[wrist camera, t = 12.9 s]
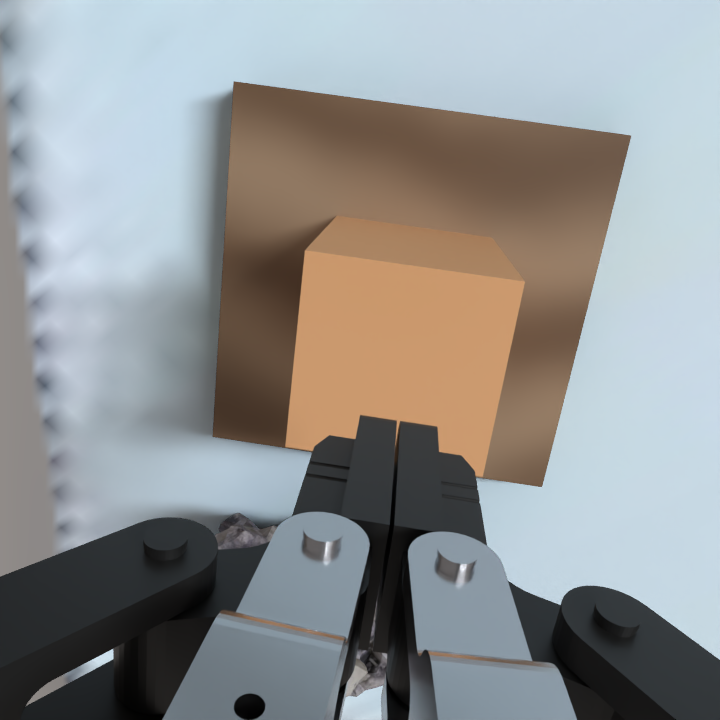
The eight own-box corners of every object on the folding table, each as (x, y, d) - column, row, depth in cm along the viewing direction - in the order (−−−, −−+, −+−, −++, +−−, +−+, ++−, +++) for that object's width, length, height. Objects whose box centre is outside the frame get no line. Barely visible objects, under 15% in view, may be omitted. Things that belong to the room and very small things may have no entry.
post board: (244, 84, 25) (175, 64, 17) (618, 135, 24) (703, 136, 17) (222, 421, 29) (161, 514, 22) (535, 469, 29) (575, 579, 22)
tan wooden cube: (336, 215, 24) (305, 250, 17) (492, 237, 24) (525, 281, 17) (320, 361, 26) (285, 446, 19) (463, 382, 26) (482, 476, 19)
